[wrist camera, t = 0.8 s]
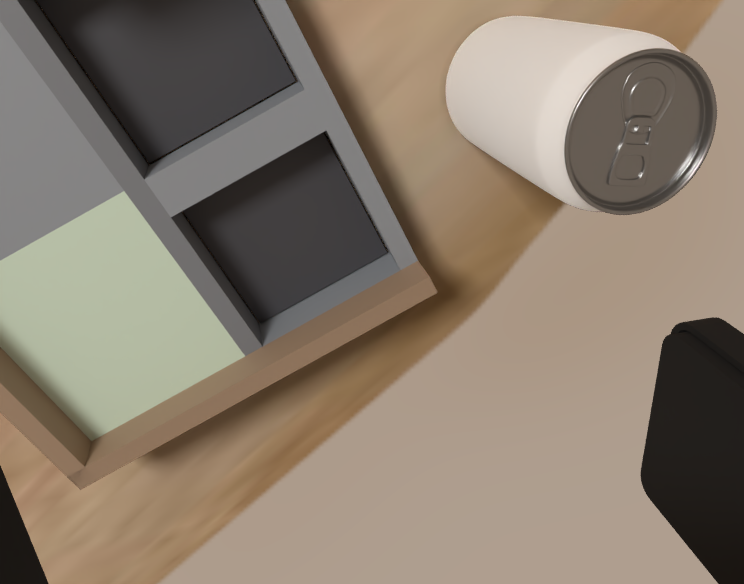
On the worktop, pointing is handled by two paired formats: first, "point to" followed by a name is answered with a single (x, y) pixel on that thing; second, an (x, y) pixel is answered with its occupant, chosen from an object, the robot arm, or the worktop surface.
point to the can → (584, 110)
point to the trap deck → (174, 221)
